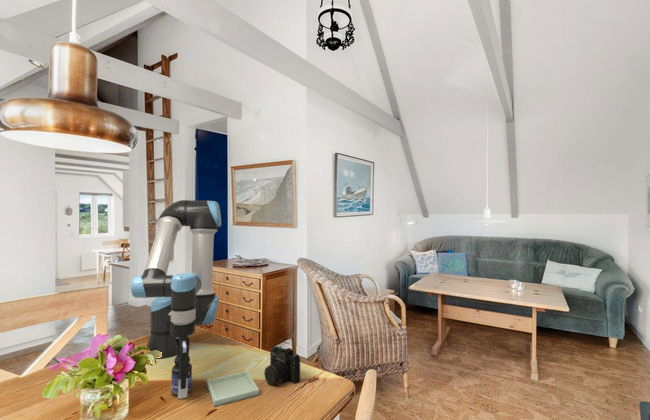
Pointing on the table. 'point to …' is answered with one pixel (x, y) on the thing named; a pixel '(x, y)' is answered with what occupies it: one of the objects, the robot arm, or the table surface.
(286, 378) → the camera
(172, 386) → the pill bottle
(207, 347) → the table surface
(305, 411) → the table surface
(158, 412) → the table surface
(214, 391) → the tray
